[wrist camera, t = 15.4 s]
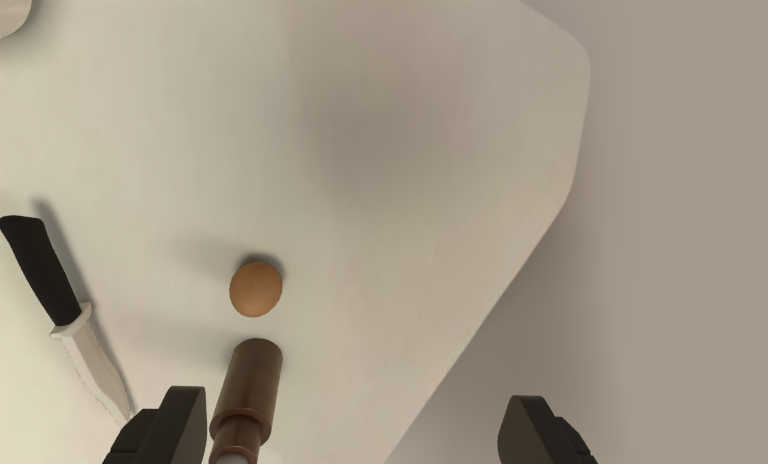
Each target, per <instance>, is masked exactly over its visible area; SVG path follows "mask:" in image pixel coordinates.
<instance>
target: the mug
mask: <svg viewBox="0 0 768 464" xmlns="http://www.w3.org/2000/svg"><path fill="white" fill-rule="evenodd" d="M31 5H32V0H0V38H2V37H5V36H7V35H9V34H11V33H13V32H14V31H16V30H17V29H18V28H19V27H20V26H21V25H22V24H23V23H24V22H25V20H26V19H27V17H28V15H29V12H30V9H31Z"/></svg>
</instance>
